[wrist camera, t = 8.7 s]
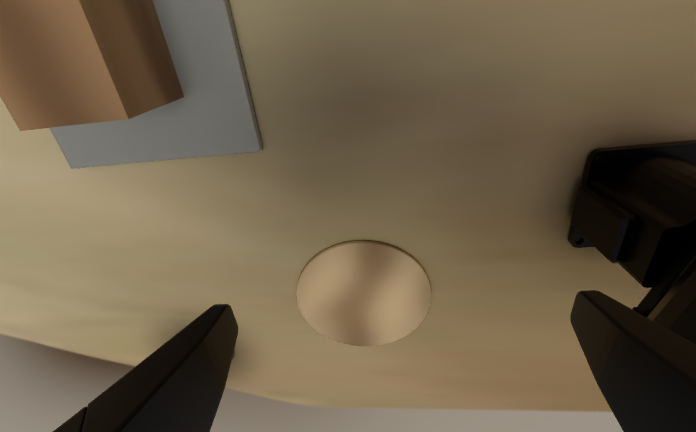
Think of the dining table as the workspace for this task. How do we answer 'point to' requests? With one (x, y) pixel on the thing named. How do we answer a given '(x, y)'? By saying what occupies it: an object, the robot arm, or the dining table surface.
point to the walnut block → (83, 61)
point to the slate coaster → (186, 113)
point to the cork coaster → (364, 293)
